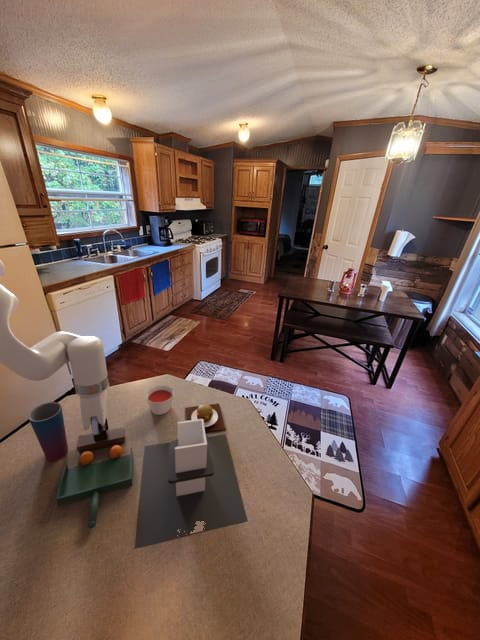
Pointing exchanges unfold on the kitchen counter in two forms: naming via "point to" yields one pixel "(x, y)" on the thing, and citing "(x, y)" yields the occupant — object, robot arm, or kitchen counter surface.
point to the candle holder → (187, 486)
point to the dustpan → (94, 482)
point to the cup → (50, 430)
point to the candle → (160, 399)
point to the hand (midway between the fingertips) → (101, 434)
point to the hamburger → (207, 416)
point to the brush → (113, 438)
